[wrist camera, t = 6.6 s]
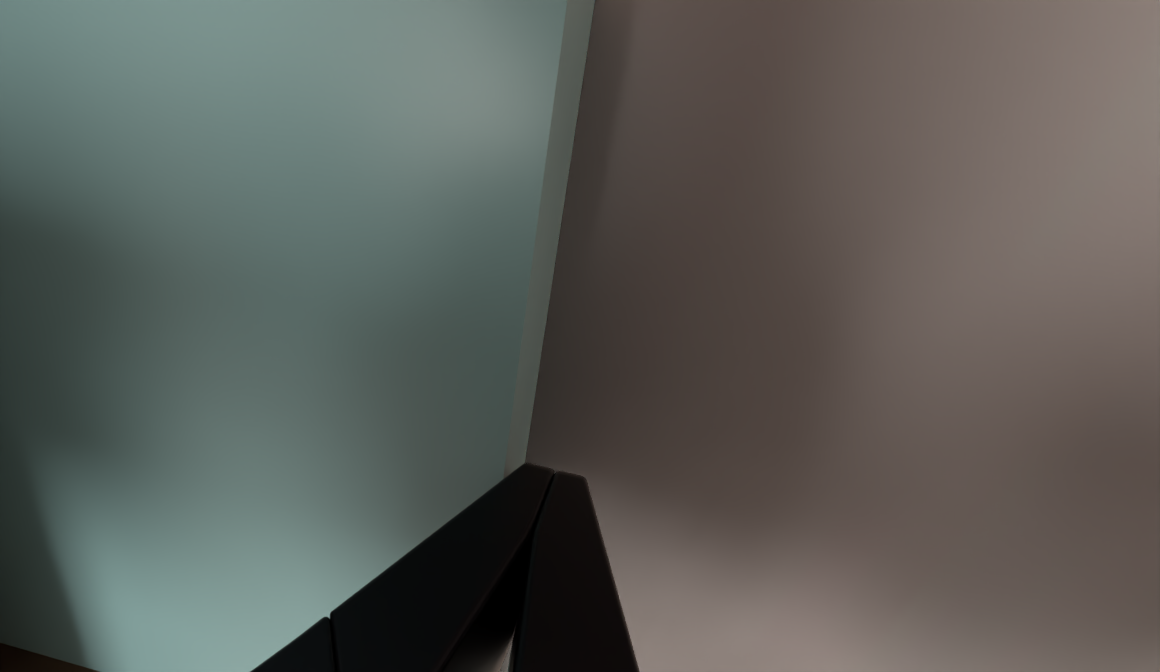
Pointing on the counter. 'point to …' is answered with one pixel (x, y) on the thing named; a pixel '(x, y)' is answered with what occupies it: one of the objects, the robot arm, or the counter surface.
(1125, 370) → the counter surface
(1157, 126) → the counter surface
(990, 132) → the counter surface
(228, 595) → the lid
